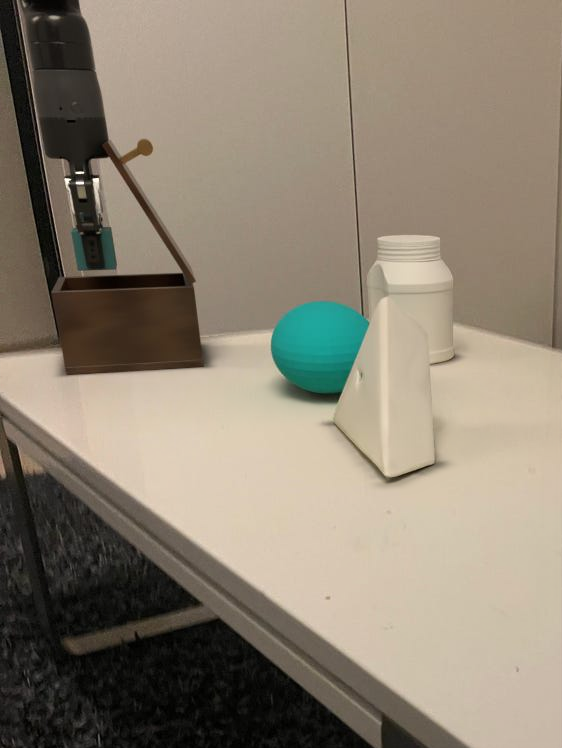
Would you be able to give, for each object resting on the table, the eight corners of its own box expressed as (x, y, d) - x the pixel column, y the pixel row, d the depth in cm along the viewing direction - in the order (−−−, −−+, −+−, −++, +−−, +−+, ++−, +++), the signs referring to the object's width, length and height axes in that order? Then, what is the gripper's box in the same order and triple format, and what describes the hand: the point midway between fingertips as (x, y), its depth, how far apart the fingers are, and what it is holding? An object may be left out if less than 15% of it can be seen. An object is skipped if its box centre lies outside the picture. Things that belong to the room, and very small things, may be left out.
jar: (362, 352, 137) (356, 236, 130) (423, 345, 142) (420, 232, 135) (399, 368, 129) (395, 244, 122) (463, 360, 133) (462, 240, 126)
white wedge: (479, 422, 85) (437, 313, 99) (415, 404, 82) (381, 294, 96) (412, 552, 94) (382, 435, 107) (353, 539, 91) (330, 421, 105)
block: (77, 270, 124) (70, 231, 122) (79, 266, 128) (72, 227, 125) (116, 269, 125) (110, 230, 123) (117, 264, 129) (111, 226, 127)
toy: (393, 405, 112) (389, 313, 107) (278, 411, 109) (270, 317, 104) (372, 371, 127) (368, 289, 122) (271, 376, 124) (263, 292, 119)
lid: (101, 145, 115) (138, 123, 115) (105, 142, 126) (138, 122, 126) (190, 284, 124) (224, 264, 124) (186, 270, 136) (217, 251, 136)
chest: (66, 374, 124) (50, 292, 120) (72, 352, 136) (58, 276, 132) (203, 366, 129) (193, 286, 124) (198, 346, 140) (189, 272, 136)
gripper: (43, 114, 123) (69, 260, 131) (32, 113, 111) (62, 274, 119) (106, 114, 125) (128, 258, 133) (103, 114, 113) (127, 272, 121)
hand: (96, 264), depth 126 cm, fingers closed on block, 4 cm apart
